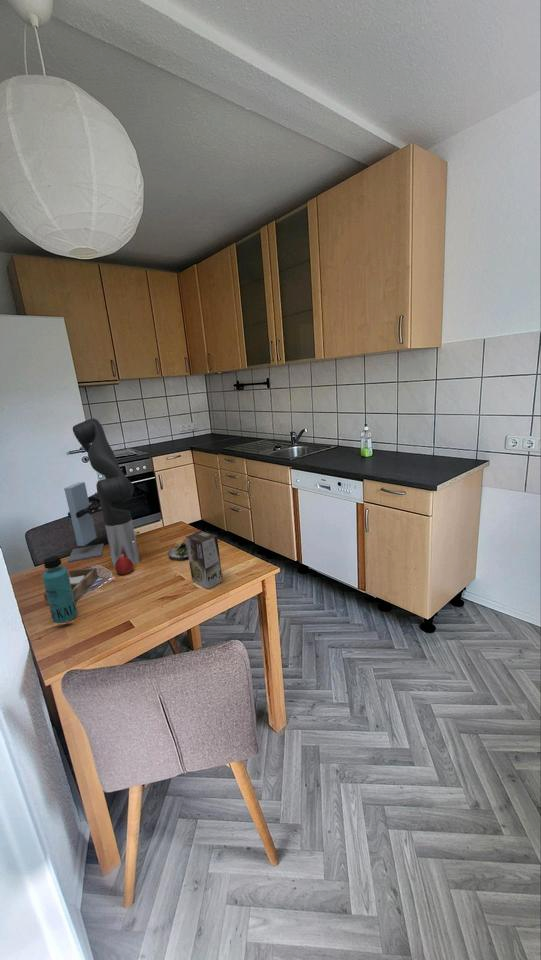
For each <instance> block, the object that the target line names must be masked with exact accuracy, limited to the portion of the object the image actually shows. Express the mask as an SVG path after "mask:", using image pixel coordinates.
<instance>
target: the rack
mask: <svg viewBox="0 0 541 960" xmlns="http://www.w3.org/2000/svg"><path fill="white" fill-rule="evenodd" d="M68 573H69V577H70V578H73V577H78V576H83V575H85V577H84V578H83V579H82V580H81V581H80V582H79V583H71V588H72V592H73V596H74V600H75V602H76V603H77V602H78V601H79V600H80V599H81V597H83V595H84V594H85V593H86V592H87V591H88V590H89V589H90V588H91V587H92V586H93V584H95V582H96V581H97V580H98V579H99V576H98V572H97V567H96V568H95V567H93V568H91V567H90V568H78V569H77V568H75V569H70V570H68ZM43 597H44V601H45V604H46V606H49V602H48V598H47V594H46V592H44V593H43Z"/></svg>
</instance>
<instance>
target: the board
mask: <svg viewBox="0 0 541 960" xmlns="http://www.w3.org/2000/svg"><path fill="white" fill-rule="evenodd" d="M64 492H65V493H64V494H65V497H66V502H67V506H68V512H70V515H71V518H70V519H71V523H72V528H73V532H74V537H75V541H76V545H77V546H78V547H86V546H87V545H88V544H90V542H92V541H93V540H95V539H97V533H96V528H95V523H94V519H93V514H91V515H90V514H87V515H83V516H82V517H80V518H77V517H76V513H77V512H79V511H80V510H83V509H84V508H85V507H86V506H87V505H89V500H88V497H89V496H88V491H87V486H86V483H85V482H83V481H81V482H76V483H74V484H71V485H69V486H66V487H64Z"/></svg>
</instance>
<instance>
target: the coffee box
mask: <svg viewBox="0 0 541 960" xmlns="http://www.w3.org/2000/svg"><path fill="white" fill-rule="evenodd" d="M184 538H185V544H186V545H187V551H188V557H187V558H188V563H189V570H190V574H191V582H193V583H195V584H197V585H199V586H201V587H203V588H206V589H207V588H208V589H207V590H209V588H210V589H211V588H214V587H215V586H217V585H218V583H219V584H220V582H221V583H223V581H224V580H223V573H222V564H221V556H220V550H219V549H220V548H219V540H218V535H216V534H212V533H209V532H206V531H203V530H198V531H195V532H192V533H191V534H189V535H186V536H185V537H184ZM216 584H217V585H216Z"/></svg>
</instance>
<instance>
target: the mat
mask: <svg viewBox="0 0 541 960" xmlns="http://www.w3.org/2000/svg"><path fill="white" fill-rule="evenodd" d="M104 545H105V544H104V543H97V544H93V545H88V546H87V545H86V546H81V547H77V548H73V549H72V550H71V553H70V555H69V556H68V557H69V558H68V559H67V563H74V562H79V561H83V560H89V559H94V558H97V557H98V558H99V557H102V556H103V551H104Z"/></svg>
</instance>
